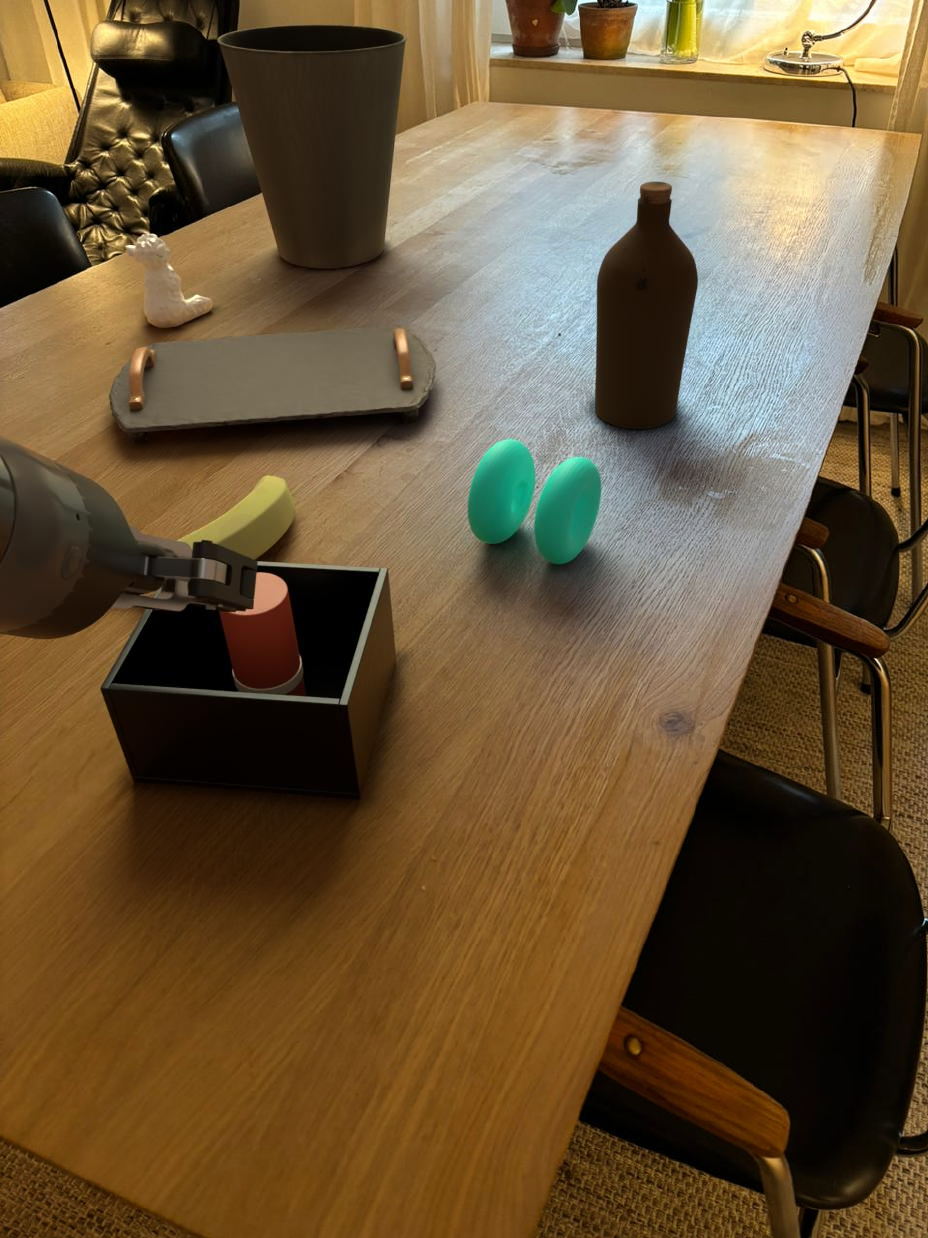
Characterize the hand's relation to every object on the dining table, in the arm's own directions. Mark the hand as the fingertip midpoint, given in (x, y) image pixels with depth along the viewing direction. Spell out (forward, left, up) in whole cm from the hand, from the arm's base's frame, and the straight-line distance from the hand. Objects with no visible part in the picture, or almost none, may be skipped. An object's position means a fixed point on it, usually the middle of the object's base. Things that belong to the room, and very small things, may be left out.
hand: (158, 588), depth 55 cm
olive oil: (+29, +65, -22) cm, 74 cm away
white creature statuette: (-35, +87, -22) cm, 96 cm away
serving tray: (-14, +66, -22) cm, 71 cm away
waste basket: (-18, +115, -22) cm, 118 cm away
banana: (-12, +33, -22) cm, 41 cm away
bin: (0, +12, -22) cm, 25 cm away
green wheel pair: (+19, +37, -22) cm, 47 cm away
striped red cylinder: (0, +12, -21) cm, 24 cm away
